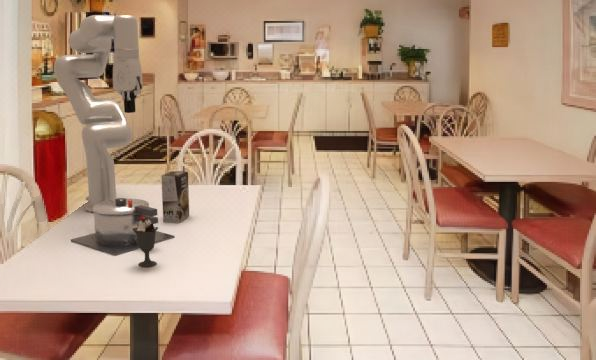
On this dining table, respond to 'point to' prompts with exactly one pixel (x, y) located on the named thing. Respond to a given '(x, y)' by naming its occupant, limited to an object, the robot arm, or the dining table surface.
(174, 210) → the coffee box
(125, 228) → the cooker
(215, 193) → the dining table surface
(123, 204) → the lid
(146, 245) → the sundae
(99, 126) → the robot arm
